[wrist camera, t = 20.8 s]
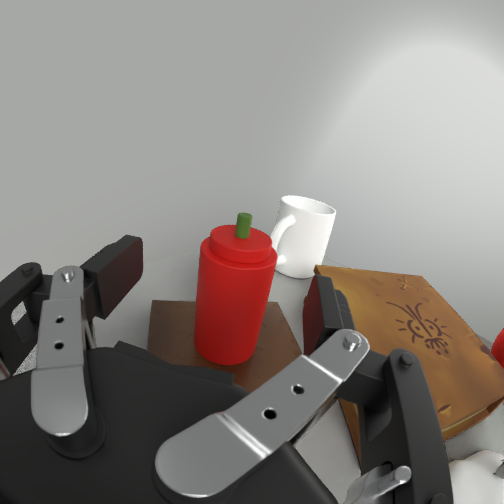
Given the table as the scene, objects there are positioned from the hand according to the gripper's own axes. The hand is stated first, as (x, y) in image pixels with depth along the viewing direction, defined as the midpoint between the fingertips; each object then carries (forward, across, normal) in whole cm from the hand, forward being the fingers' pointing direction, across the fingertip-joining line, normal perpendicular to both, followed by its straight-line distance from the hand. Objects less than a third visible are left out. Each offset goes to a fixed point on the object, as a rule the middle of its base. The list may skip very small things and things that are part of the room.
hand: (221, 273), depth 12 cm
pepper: (+7, 0, +12) cm, 14 cm away
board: (+8, 0, +13) cm, 15 cm away
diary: (+9, -19, +13) cm, 25 cm away
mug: (+27, -6, +13) cm, 30 cm away
